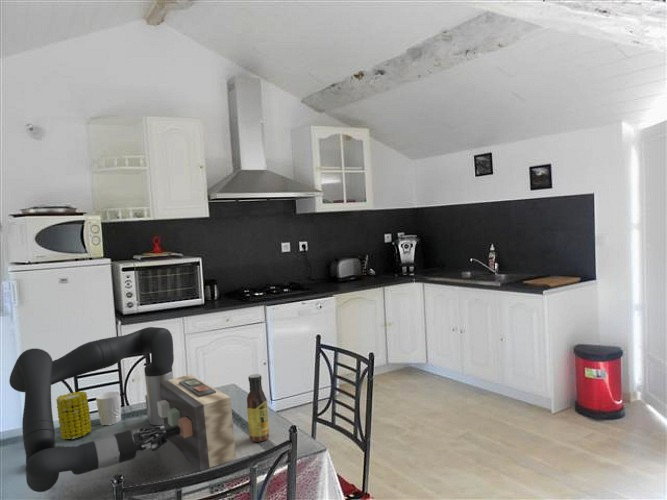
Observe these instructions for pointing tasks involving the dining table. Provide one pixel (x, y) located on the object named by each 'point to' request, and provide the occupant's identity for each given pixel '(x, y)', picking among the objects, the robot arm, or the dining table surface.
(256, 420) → the sauce bottle
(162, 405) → the ivory key
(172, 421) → the sage key
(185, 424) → the terracotta key
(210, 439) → the keypad
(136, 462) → the dining table surface
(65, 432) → the food
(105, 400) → the white cup
